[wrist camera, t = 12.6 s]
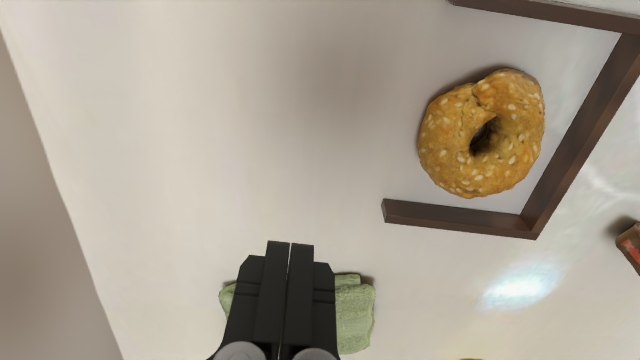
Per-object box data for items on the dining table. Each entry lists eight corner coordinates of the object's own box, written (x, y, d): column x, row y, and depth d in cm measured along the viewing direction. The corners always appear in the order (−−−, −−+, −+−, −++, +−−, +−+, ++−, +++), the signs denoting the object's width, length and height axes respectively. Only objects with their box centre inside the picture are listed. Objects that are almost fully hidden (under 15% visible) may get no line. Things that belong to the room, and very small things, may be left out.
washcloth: (372, 338, 50) (374, 362, 48) (238, 342, 51) (233, 366, 48) (374, 269, 43) (377, 292, 40) (218, 274, 44) (211, 298, 41)
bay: (447, -17, 27) (458, -12, 25) (645, 16, 28) (671, 24, 26) (381, 206, 38) (384, 223, 36) (524, 223, 39) (536, 240, 37)
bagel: (566, 102, 32) (601, 128, 28) (471, 193, 37) (489, 226, 33) (479, 36, 29) (504, 55, 25) (389, 145, 34) (398, 174, 30)
